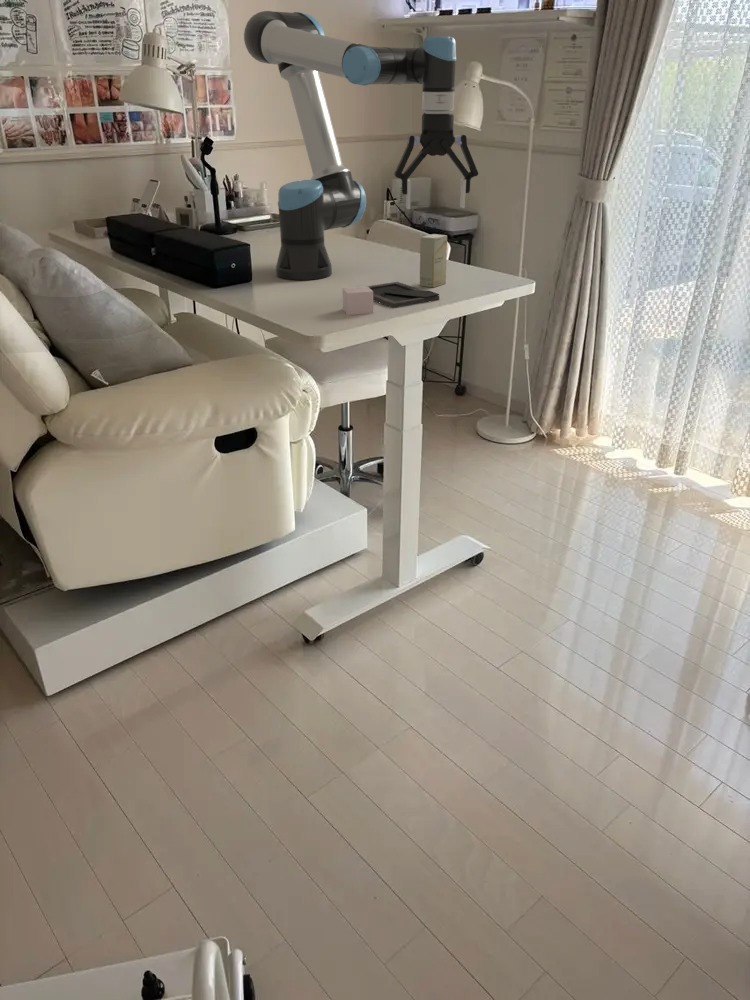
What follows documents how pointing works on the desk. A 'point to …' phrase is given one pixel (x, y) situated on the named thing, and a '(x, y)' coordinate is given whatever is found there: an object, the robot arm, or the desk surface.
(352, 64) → the robot arm
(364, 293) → the pink box
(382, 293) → the picture frame
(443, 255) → the skincare box
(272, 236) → the desk surface
